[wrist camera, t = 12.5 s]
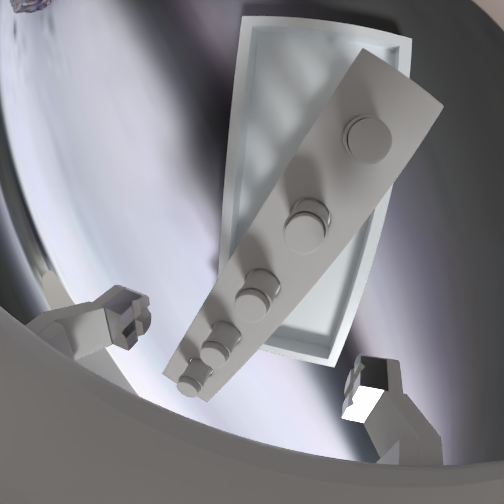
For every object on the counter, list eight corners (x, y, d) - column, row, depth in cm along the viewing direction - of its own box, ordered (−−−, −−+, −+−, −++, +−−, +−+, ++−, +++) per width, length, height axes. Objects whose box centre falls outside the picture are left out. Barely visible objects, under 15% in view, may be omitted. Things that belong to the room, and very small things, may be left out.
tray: (405, 46, 18) (411, 38, 16) (335, 352, 32) (334, 367, 30) (250, 24, 21) (242, 16, 19) (222, 324, 35) (215, 336, 33)
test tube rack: (352, 82, 19) (365, 29, 7) (399, 114, 19) (465, 103, 7) (212, 302, 31) (147, 392, 20) (247, 325, 31) (196, 423, 20)
